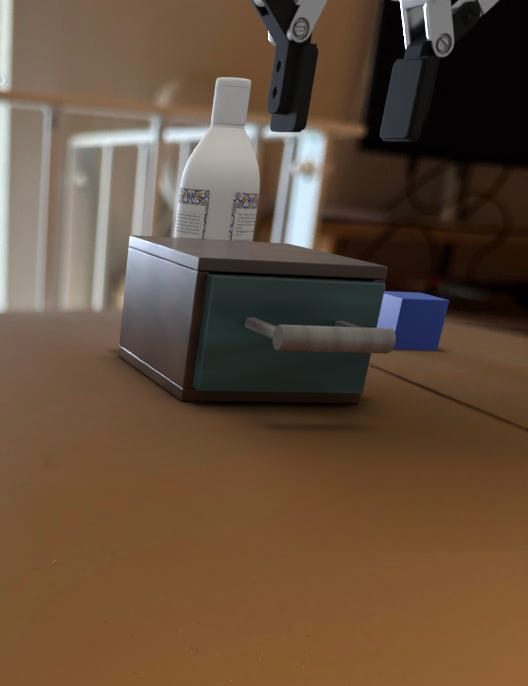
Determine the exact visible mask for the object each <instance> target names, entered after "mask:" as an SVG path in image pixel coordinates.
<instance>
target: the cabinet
mask: <svg viewBox="0 0 528 686" xmlns="http://www.w3.org/2000/svg"><path fill="white" fill-rule="evenodd" d="M209 272H225V273H246V274H268V275H290V276H311V277H333V278H344V279H348V280H354V281H376V282H380V283H384V284H385V282H386V281H385V280H386V278H387V273H388V266H386V265H382V264H378V263H374V262H370V261H365V260H361V259H356V258H353V257H347V256H343V255H340V254H335V253H330V252H327V251H321V250H317V249H313V248H308V247H305V246H300V245H296V244H291V243H287V242H267V241H266V242H265V241H252V242H250V241H231V240H213V239H194V238H176V237H174V236H156V235H155V236H154V235H137V234H130V235H129V240H128V248H127V260H126V270H125V281H124V291H123V301H122V313H121V323H120V331H119V333H120V334H119V346H118V352H117V353H118V356H119V357H120V358H121V359H123V360H124V361H126V362H127V363H128V364H130V365H131V367H134V368H135V369H136V370H138V371H139V372H140V373H142V374H144V375H145V376H146V377H148V378H149V379H150V380H152V381H153V382H154V383H156V384H157V385H159V386H160V387H161V388H163V389H164V390H166V391H167V392H169V393H170V394H171V395H172V396H174V397H175V398H177V399H178V400H179V401H181V402H217V403H219V402H220V403H221V402H224V403H227V402H228V403H285V404H287V403H288V404H289V403H290V404H291V403H293V404H294V403H297V404H354V405H355V404H359V403H360V401H361V395H362V394H328V393H269V392H210V391H198V390H196V389H195V388H193V379H194V371H195V364H196V356H197V348H198V341H199V333H200V326H201V318H202V311H203V303H204V295H205V288H206V280H207V275H208V274H209Z"/></svg>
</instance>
